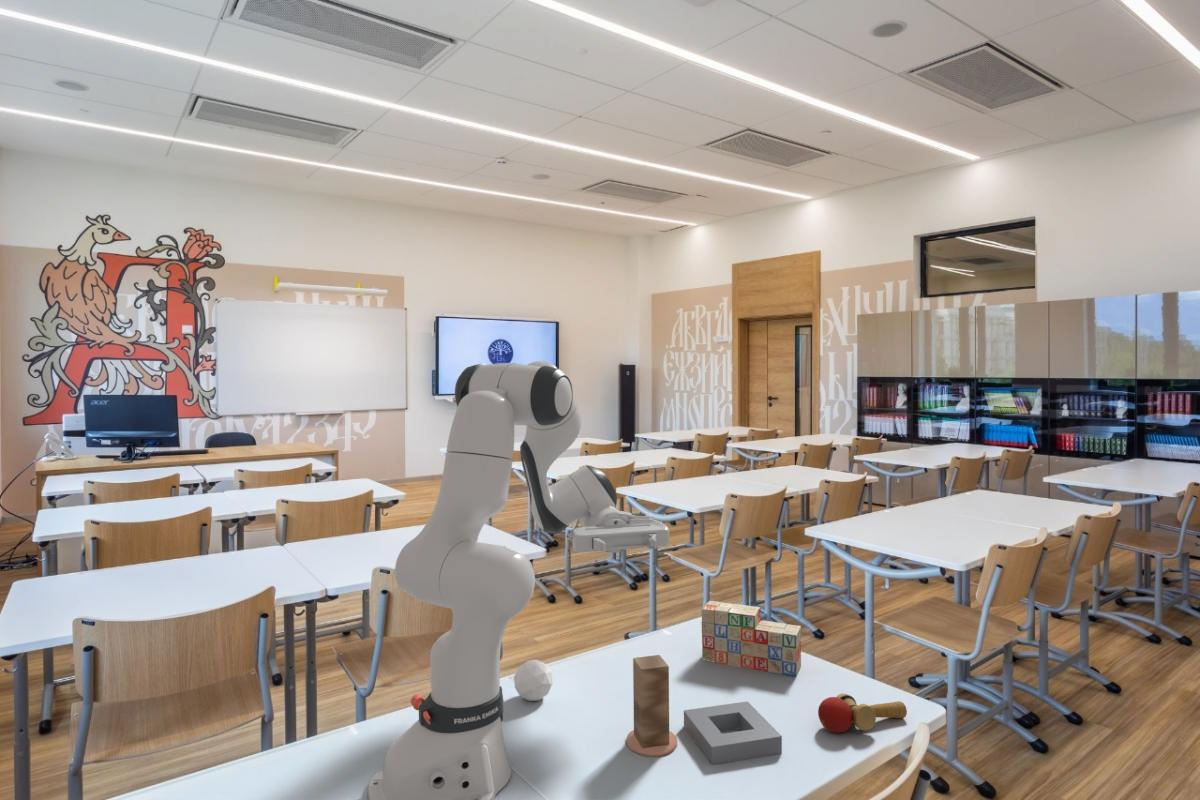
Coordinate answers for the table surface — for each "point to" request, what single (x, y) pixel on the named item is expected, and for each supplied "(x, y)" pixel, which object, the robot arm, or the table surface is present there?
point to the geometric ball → (533, 680)
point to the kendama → (855, 713)
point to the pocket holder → (736, 745)
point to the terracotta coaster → (651, 751)
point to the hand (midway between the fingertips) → (630, 546)
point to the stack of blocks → (749, 639)
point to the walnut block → (651, 701)
